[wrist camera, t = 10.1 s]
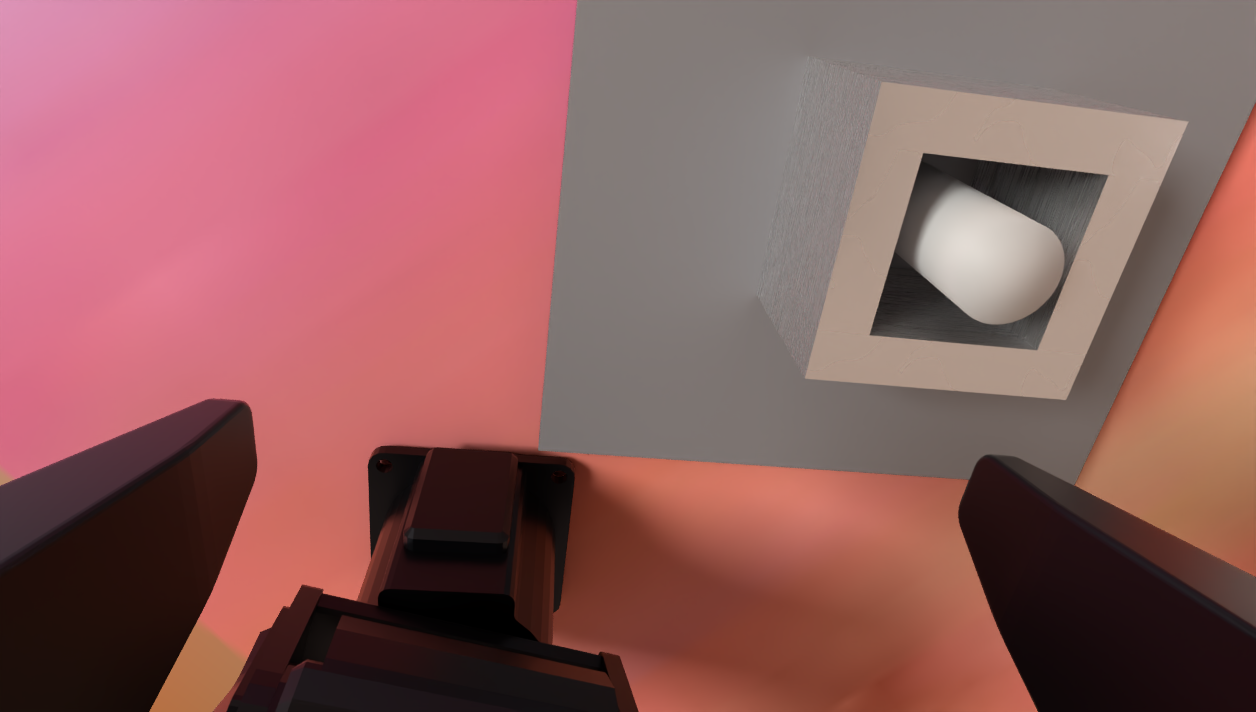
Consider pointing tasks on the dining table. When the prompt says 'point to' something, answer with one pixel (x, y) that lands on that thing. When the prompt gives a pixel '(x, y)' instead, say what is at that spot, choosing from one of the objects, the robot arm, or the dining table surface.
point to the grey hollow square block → (1006, 171)
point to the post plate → (719, 199)
